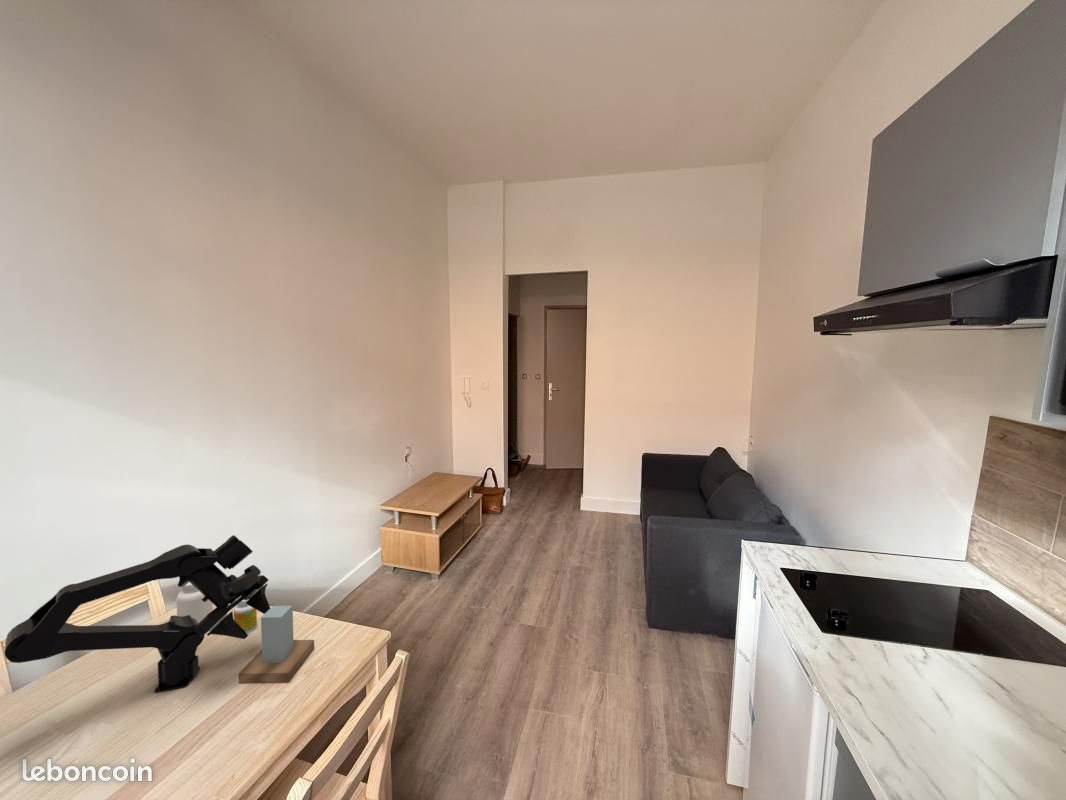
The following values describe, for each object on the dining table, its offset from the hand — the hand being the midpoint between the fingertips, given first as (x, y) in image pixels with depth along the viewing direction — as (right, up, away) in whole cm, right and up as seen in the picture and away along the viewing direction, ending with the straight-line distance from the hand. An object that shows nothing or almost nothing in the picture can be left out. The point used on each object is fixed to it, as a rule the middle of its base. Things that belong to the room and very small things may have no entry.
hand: (259, 625), depth 101 cm
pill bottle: (-29, -10, +15) cm, 34 cm away
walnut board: (+4, -11, +1) cm, 12 cm away
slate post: (+4, -8, +1) cm, 10 cm away
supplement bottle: (-15, -10, +15) cm, 23 cm away
